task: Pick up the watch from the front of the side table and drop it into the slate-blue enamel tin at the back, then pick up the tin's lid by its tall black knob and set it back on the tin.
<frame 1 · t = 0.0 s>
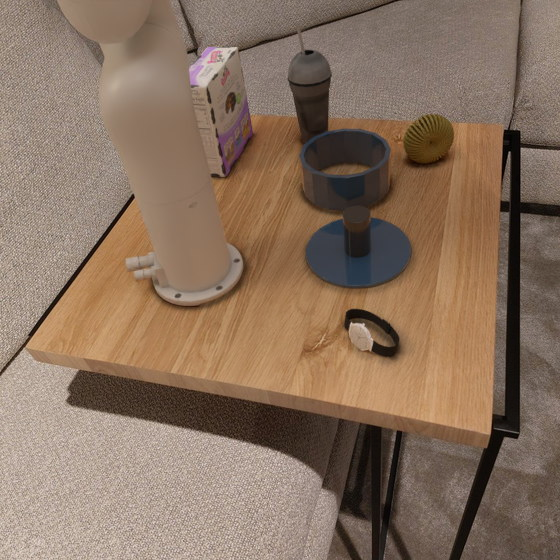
beverage cup: (315, 139, 104), on the table
watch: (371, 340, 70), on the table
sculpture: (427, 162, 95), on the table
tin lid: (357, 251, 80), point 1 cm above the table
tin: (346, 187, 92), on the table
candy box: (225, 155, 103), on the table
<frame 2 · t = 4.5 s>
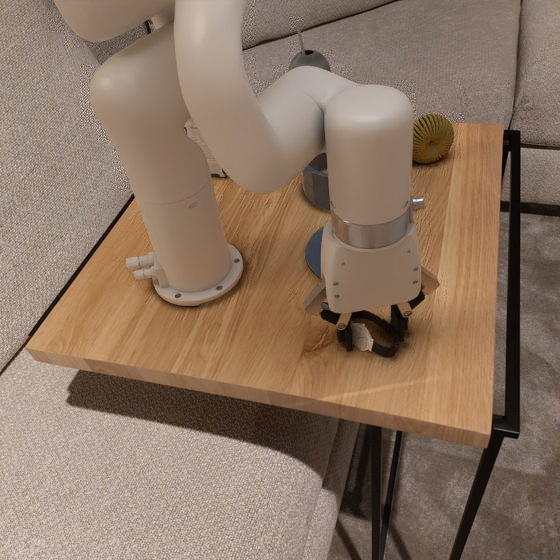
hand: (371, 336, 69), 1 cm above the table, tool pointing down, fingers closed on watch, 5 cm apart
watch: (371, 340, 70), on the table, touching gripper
everything else where it was.
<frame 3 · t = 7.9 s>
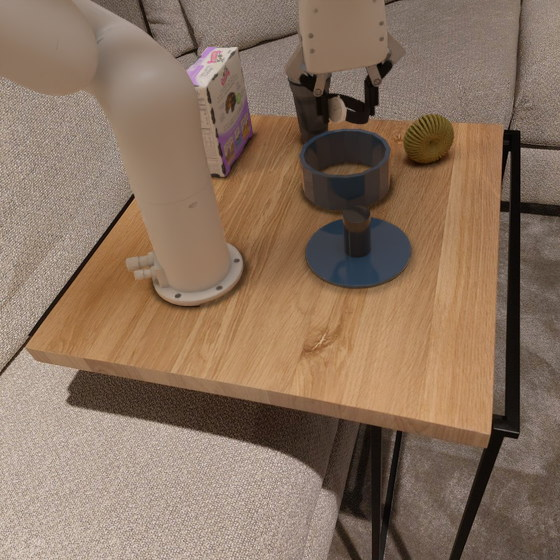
hand: (347, 113, 77), 16 cm above the table, tool pointing down, fingers closed on watch, 5 cm apart
watch: (347, 119, 78), point 15 cm above the table, touching gripper
everything else where it was.
when the fingers open (3 cm above the table, at t = 11.5 s): watch drops 2 cm, resting on tin.
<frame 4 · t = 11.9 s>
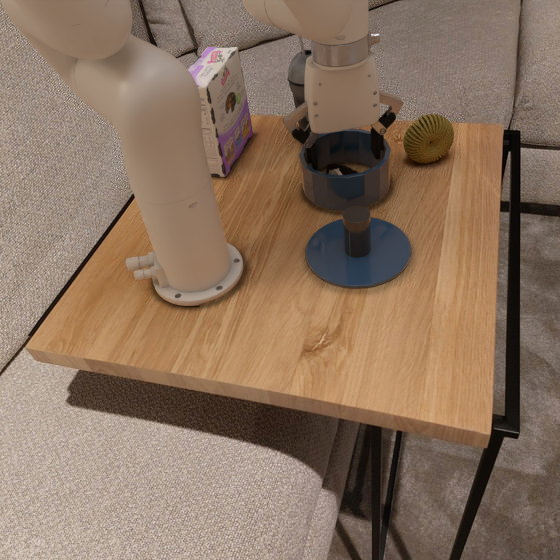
hand: (344, 160, 88), 5 cm above the table, tool pointing down, fingers open, 9 cm apart
watch: (345, 186, 92), resting on tin
everything else where it was.
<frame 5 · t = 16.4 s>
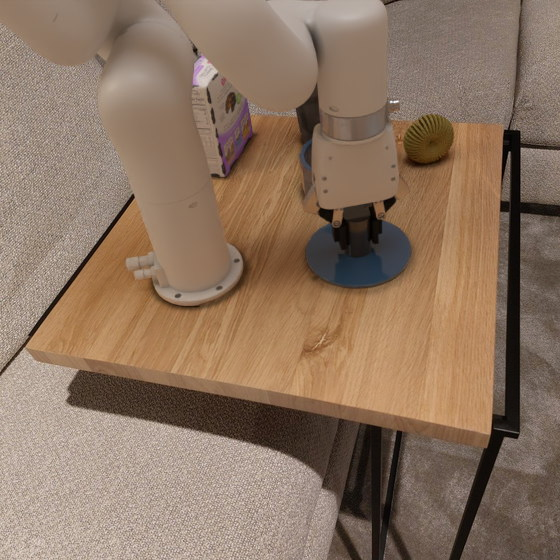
hand: (357, 239, 78), 3 cm above the table, tool pointing down, fingers closed on tin lid, 3 cm apart
tin lid: (357, 251, 80), point 1 cm above the table, touching gripper
everything else where it was.
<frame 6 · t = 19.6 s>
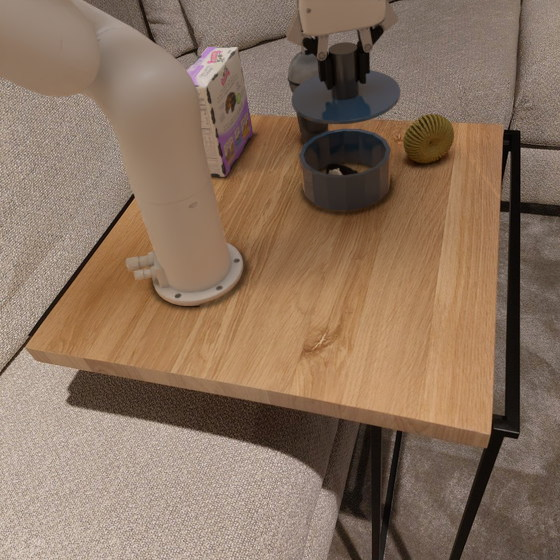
hand: (344, 81, 76), 19 cm above the table, tool pointing down, fingers closed on tin lid, 3 cm apart
tin lid: (345, 96, 77), point 17 cm above the table, touching gripper
everything else where it was.
when the fingers open (9 cm above the table, at t = 22.8 s): tin lid stays where it is, resting on tin.
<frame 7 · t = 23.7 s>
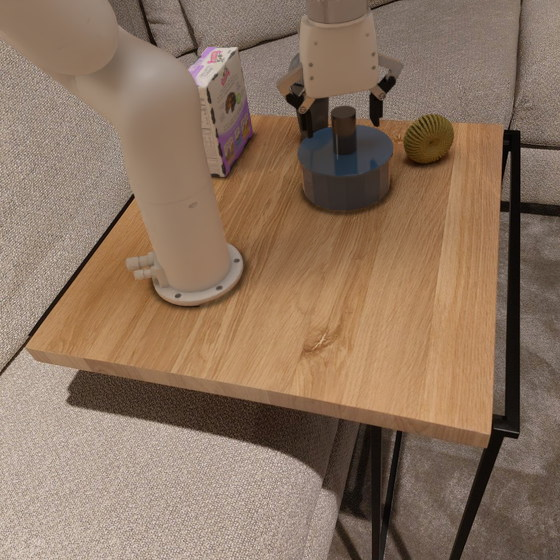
hand: (341, 128, 85), 10 cm above the table, tool pointing down, fingers open, 9 cm apart
tin lid: (345, 151, 88), point 6 cm above the table, touching tin
everything else where it was.
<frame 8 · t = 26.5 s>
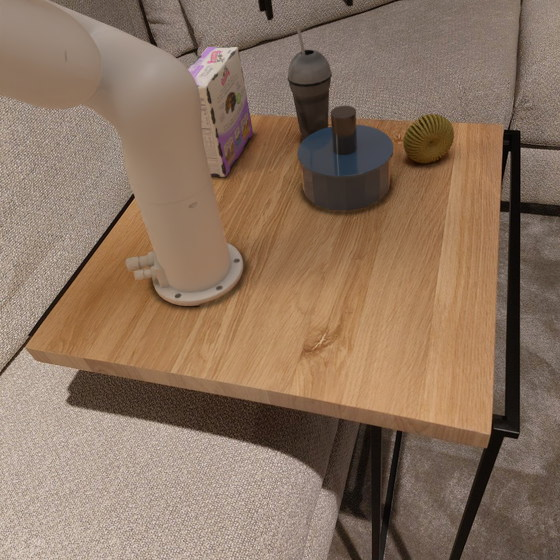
hand: (308, 9, 71), 28 cm above the table, tool pointing down, fingers open, 9 cm apart
nothing on the table moved.
at the end: watch inside the target area in the tin (0.2 cm from its centre), point 0.2 cm above the tin's base; tin lid 0.1 cm off-centre on the tin, point 6.4 cm above the tin's base; tin lid tilted 0° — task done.
